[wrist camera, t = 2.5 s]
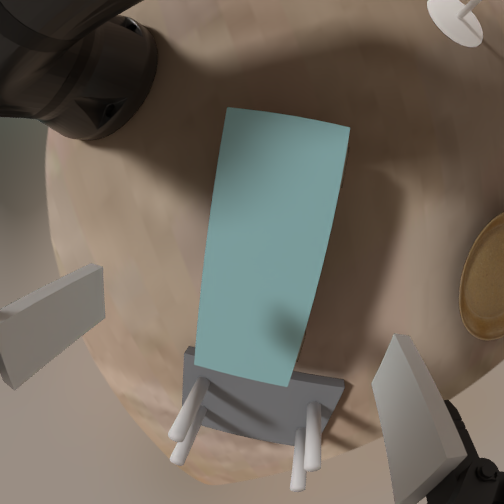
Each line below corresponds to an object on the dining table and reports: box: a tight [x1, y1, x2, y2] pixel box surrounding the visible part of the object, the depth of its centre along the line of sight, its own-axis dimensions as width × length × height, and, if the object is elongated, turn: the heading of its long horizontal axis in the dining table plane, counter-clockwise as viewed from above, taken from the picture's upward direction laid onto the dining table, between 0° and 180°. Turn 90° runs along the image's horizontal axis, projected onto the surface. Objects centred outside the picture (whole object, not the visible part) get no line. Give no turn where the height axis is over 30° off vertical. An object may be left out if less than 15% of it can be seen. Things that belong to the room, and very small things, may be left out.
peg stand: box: [168, 346, 345, 492], centre depth 27 cm, size 18×12×10 cm, turn 80°
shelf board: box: [194, 107, 350, 387], centre depth 21 cm, size 20×8×2 cm, turn 170°
